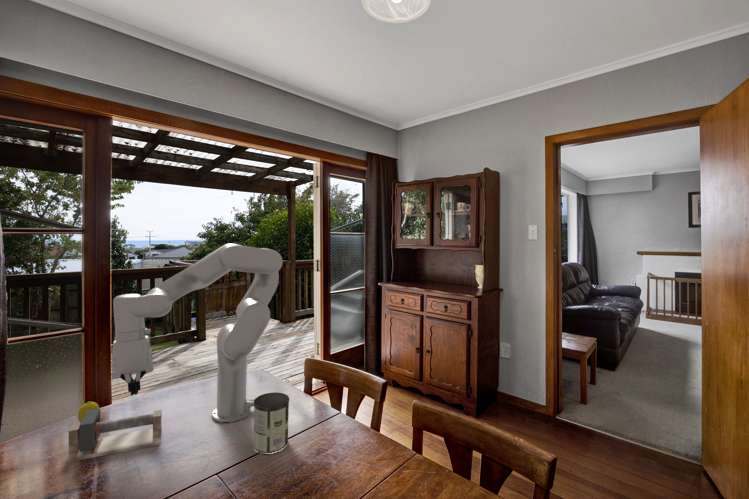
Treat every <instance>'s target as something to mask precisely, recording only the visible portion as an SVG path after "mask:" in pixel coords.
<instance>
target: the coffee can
mask: <svg viewBox="0 0 749 499" xmlns="http://www.w3.org/2000/svg"><path fill="white" fill-rule="evenodd" d="M289 404H290V397H289V395H288V394H285V393H282V392H275V391H274V392H267V393H263V394H261V395H258V396H257V397H255V400H254V406H253V446H254V448H253V450H254V449H255V450H256V451H258V452H260V453H272V452H275V451H279V450H281V449H282V448H284V447H285V446H286V445H287V443H288V444H289V415H290V414H289V412H290V411H289ZM255 450H254V451H255Z"/></svg>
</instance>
